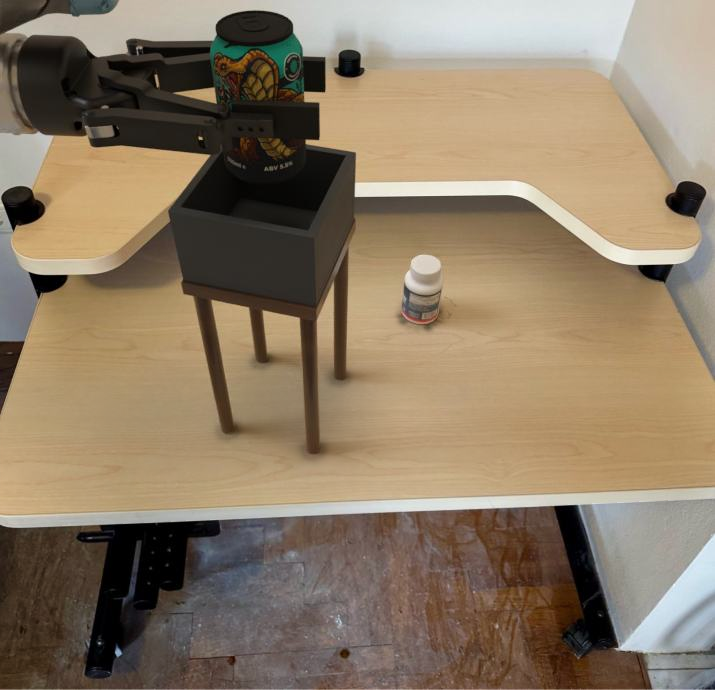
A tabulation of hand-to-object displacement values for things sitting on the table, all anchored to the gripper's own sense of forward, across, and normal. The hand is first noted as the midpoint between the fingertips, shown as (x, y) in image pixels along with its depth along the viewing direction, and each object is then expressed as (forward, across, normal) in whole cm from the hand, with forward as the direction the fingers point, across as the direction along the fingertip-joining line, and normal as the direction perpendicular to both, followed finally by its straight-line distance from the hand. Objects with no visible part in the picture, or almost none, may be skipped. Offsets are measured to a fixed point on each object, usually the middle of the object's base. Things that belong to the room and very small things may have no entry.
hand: (322, 97), depth 54 cm
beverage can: (-5, 0, -7) cm, 8 cm away
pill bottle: (+12, -16, -40) cm, 45 cm away
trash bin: (-5, 0, -16) cm, 16 cm away
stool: (-5, 0, -40) cm, 40 cm away
